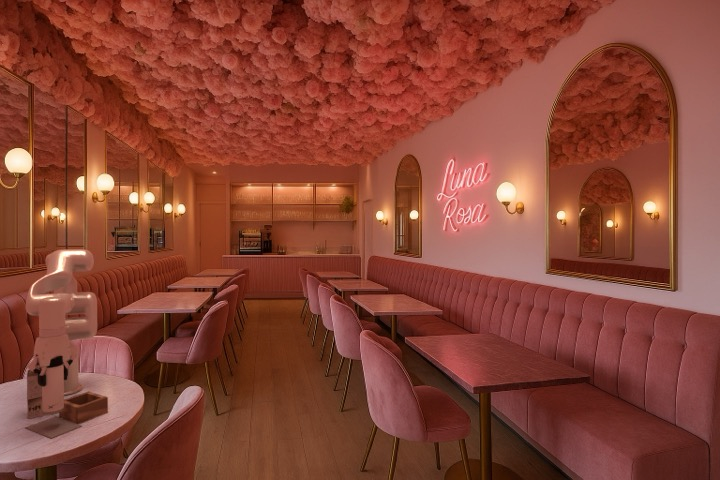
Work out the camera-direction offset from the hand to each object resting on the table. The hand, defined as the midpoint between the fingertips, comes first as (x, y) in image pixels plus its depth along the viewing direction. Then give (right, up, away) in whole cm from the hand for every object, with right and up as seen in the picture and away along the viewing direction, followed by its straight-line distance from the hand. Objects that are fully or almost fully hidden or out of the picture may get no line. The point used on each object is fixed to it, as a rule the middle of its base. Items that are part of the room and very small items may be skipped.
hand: (53, 382), depth 151 cm
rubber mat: (0, -16, +1) cm, 16 cm away
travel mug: (0, -11, 0) cm, 11 cm away
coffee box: (-15, -16, +12) cm, 25 cm away
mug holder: (+4, -16, +11) cm, 20 cm away
